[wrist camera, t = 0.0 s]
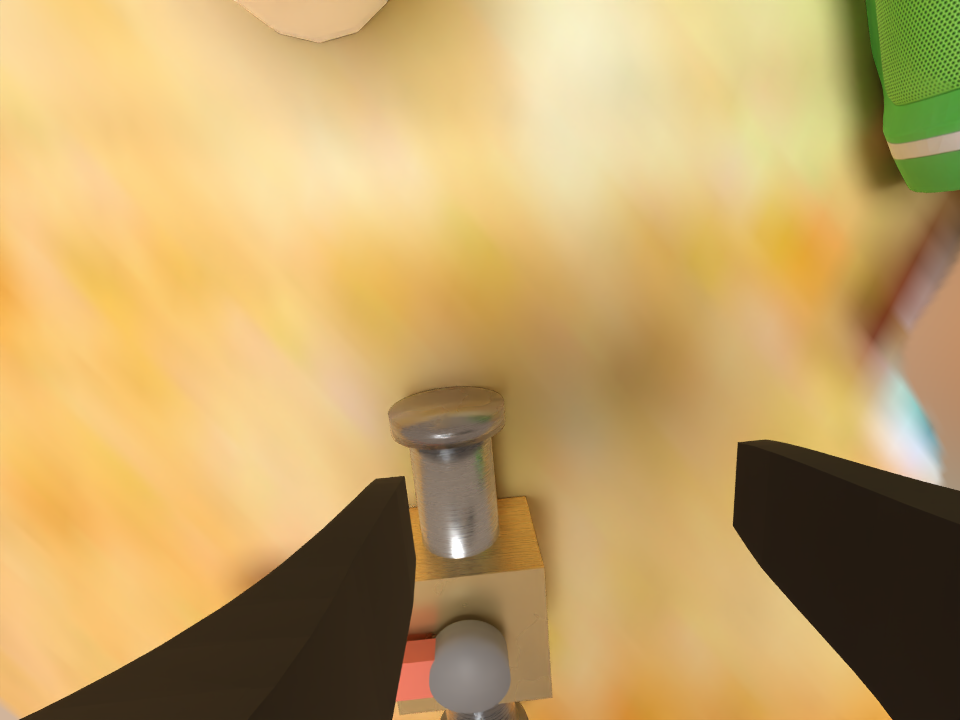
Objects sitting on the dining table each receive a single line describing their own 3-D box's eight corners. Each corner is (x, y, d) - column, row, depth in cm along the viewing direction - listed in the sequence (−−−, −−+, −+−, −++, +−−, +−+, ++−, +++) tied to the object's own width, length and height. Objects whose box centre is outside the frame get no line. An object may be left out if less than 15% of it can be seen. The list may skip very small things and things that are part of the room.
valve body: (539, 692, 24) (558, 800, 19) (425, 705, 24) (417, 817, 19) (517, 380, 20) (535, 423, 15) (377, 394, 19) (352, 441, 15)
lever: (504, 614, 16) (507, 644, 15) (509, 675, 17) (513, 708, 16) (158, 652, 16) (134, 685, 15) (178, 712, 17) (156, 749, 16)
